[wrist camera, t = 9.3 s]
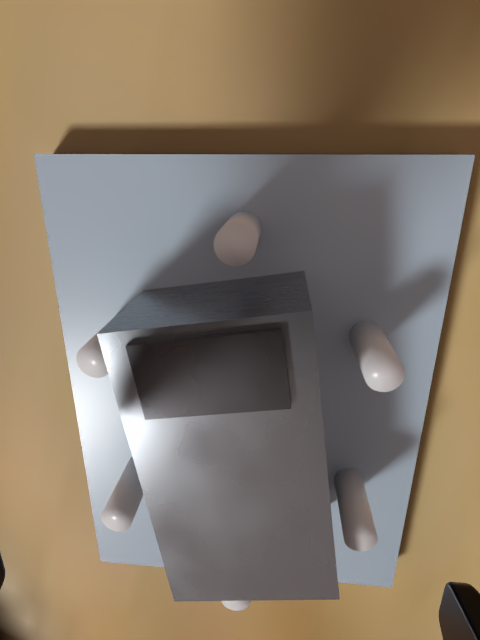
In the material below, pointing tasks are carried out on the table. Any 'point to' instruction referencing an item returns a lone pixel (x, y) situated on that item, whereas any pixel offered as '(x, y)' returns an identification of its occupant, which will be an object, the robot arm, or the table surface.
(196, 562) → the block
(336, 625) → the table surface
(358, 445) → the pin cradle
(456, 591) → the robot arm
